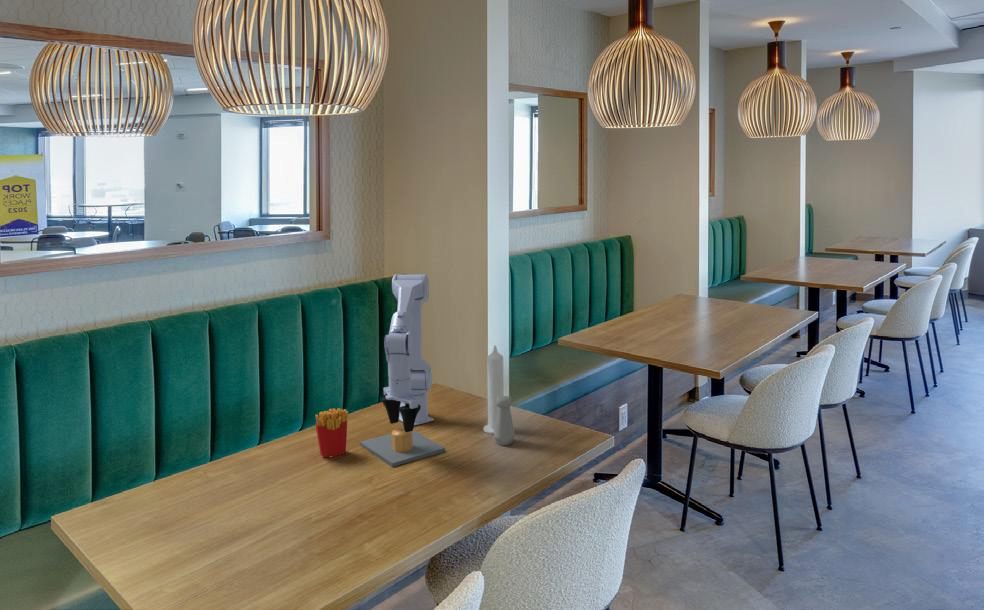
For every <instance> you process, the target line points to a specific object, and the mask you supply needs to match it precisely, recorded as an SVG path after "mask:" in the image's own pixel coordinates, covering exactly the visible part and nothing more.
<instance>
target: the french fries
mask: <svg viewBox="0 0 984 610" xmlns="http://www.w3.org/2000/svg"><path fill="white" fill-rule="evenodd" d="M318 414H319V415H318ZM318 414H315V420H316V423H315V424H314V425H315V430H316V437H317V441H318V448H319V453H320V456H321V455H322V456H323V457H330V456H335V457H337V456H336V455H340V456H342V455H341V454H343V453H345V452H347V451H346V450H347V436H348V435H347V434H348V416H349V411H348V410H347V409H346V408H345V409H343V408H339V407H338V408H337V409H336V407H335V408H329V409H328V410H324V411H320V412H319V413H318ZM345 454H346V453H345ZM343 455H344V454H343ZM322 456H321V457H322ZM330 458H331V457H330Z"/></svg>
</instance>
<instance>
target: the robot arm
mask: <svg viewBox="0 0 984 610" xmlns="http://www.w3.org/2000/svg"><path fill="white" fill-rule="evenodd" d="M429 284H430V282H429V276H428V274H426V273H423V274H422V273H421V274H398V273H395V274H394V275H393V277H392V279H391V290H392V294H393V295H394V297H395V299H396V301H397V311H396V312H394V313H392V314H393V315H392V317H391V322H390V325H389V326H390V327H389V331H388V334H385V336H384V353H385V358H386V359H385V360H386V362H387V376H388V386H385V387H383V395H384V397H382V398H380V401H381V402H382V404H383V406H384V408H385V411H386V412H387V416H388V420H389V423H390V424H391V425H392V424H396V423H399V421H400V422H402V423H403V424H402V425H403V428H404V430H405V432H410V431H413V430H414V427H415V426H417V425H422V424H425V423H426V424H427V423H430V422H432V421H434V418H433V417H431V416H429V415H428V414H429V413H428V392H429V391H430V390H431V389H432V386H433V384H432V383H433V374H432V366H431V364H430V363H429V362H428V361H427V360H425V359H424V358H422V308H423V304H424V303H426V302H428V301H429V298H430V297H429V296H430V294H429V293H430V290H429V289H430V288H429V287H430V285H429Z"/></svg>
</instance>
